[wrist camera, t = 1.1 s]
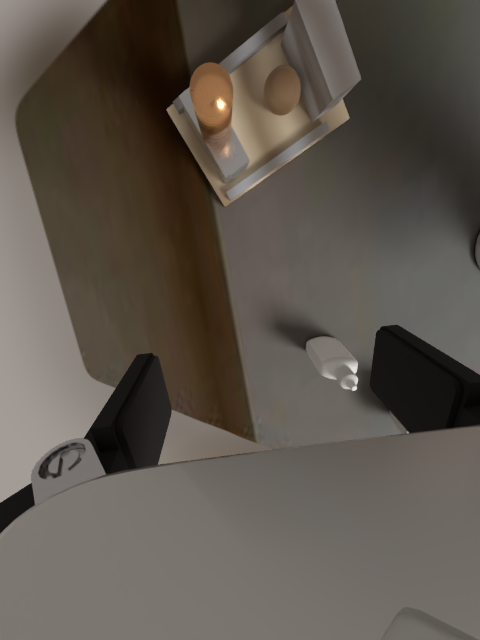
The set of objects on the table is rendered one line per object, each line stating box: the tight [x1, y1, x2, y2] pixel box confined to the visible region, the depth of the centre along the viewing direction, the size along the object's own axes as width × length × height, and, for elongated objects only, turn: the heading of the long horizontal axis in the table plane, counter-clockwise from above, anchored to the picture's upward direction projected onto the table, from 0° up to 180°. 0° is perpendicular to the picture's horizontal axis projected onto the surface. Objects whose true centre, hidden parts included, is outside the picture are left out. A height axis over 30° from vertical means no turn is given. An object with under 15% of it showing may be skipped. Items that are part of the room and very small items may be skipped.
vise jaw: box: [179, 62, 250, 185], centre depth 23 cm, size 3×8×14 cm, turn 33°
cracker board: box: [166, 0, 361, 207], centre depth 27 cm, size 18×12×8 cm, turn 122°
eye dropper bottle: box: [306, 336, 358, 391], centre depth 37 cm, size 4×6×12 cm
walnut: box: [264, 65, 301, 116], centre depth 27 cm, size 4×4×4 cm
